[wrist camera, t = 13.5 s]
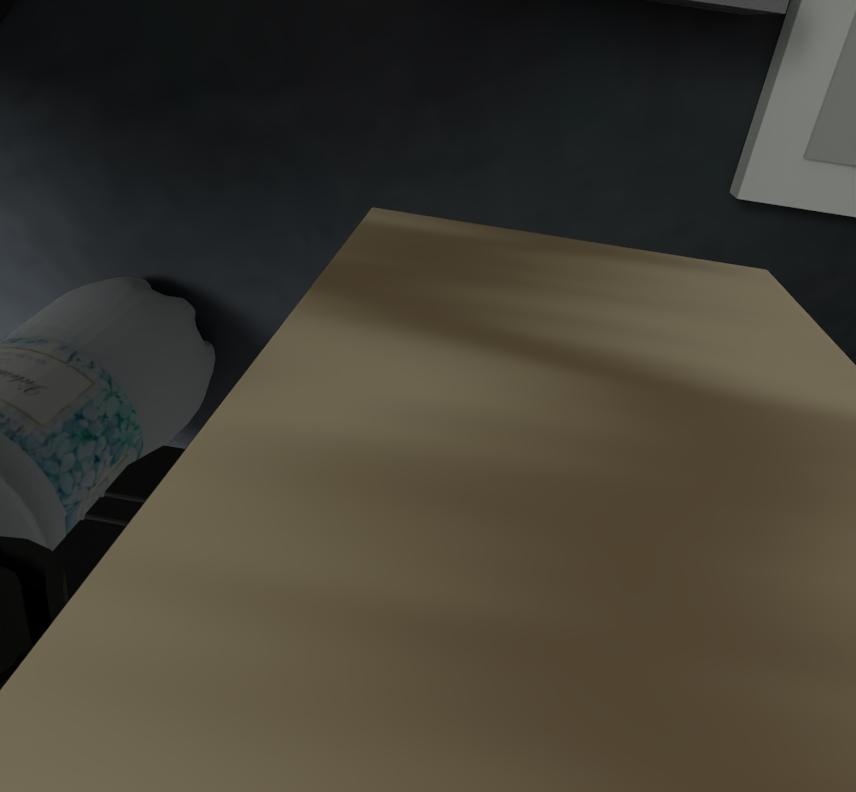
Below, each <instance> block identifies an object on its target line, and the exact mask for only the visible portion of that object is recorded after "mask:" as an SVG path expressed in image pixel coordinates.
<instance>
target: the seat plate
mask: <svg viewBox="0 0 856 792" xmlns="http://www.w3.org/2000/svg"><path fill="white" fill-rule="evenodd" d="M730 193H731V194H732V195H733V196H735V197H736V198H737V199H742V200H749V201H755V202H762V203H768V204H774V205H781V206H787V207H794V208H800V209H807V210H813V211H819V212H826V213H832V214H839V215H845V216H852V217H856V0H791V1H790V4H789V7H788V11H787V14H786V17H785V20H784V23H783V26H782V29H781V32H780V36H779V39H778V42H777V45H776V48H775V51H774V54H773V57H772V61H771V64H770V67H769V70H768V73H767V76H766V79H765V82H764V86H763V89H762V92H761V95H760V98H759V101H758V104H757V107H756V110H755V114H754V117H753V120H752V123H751V126H750V129H749V132H748V135H747V139H746V142H745V145H744V148H743V151H742V154H741V157H740V160H739V164H738V167H737V170H736V173H735V176H734V179H733V182H732V185H731V189H730Z"/></svg>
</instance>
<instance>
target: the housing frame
mask: <svg viewBox="0 0 856 792" xmlns="http://www.w3.org/2000/svg"><path fill="white" fill-rule="evenodd" d="M642 1H649V2H656V3H663V4H670V5H677V6H684V7H691V8H698V9H705V10H712V11H719V12H726V13H734V14H741V15H757V14H785V13H786V10H787V6H788V3H789V0H642Z"/></svg>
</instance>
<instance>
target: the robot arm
mask: <svg viewBox="0 0 856 792" xmlns="http://www.w3.org/2000/svg"><path fill="white" fill-rule="evenodd" d="M12 1H13V0H0V20H1V19H2V17H3V16H4V14H5V13H6V11H7V10H8V8H9V7H10V5H11V3H12ZM185 450H186V449H181V448H176V447H170V446H164V445H163V446H161V447H159V448H157V449H156V450H154V451H152V452H150V453H148V454H147V455H145V456H143V457H141V458H139V459H138V460H136V461H134V462H132V463H130V464H129V465H127V466H126V468H125V469H124V470H123V471H122V472H121V473H120V474H119V476H118V477H117V478H116V479H115V480H114V481H113V482H112V484H111V485H110V486H109V487H108V488H107V489H106V491H105V494H104V497H99V499H98V500H97V501H96V502H95V503H94V504H93V505H92V507H91V508H90V509H89V510H88V511H87V512H86V513H85V518H84V520H79V521H78V523H77V524H76V525H75V526H74V527H73V528H72V530H71V531H70V532H69V533H68V534H67V535H66V536H65V538H64V539H63V540H62V541H61V542H60V543H59V544H58V546H57V547H56V548H55V549H54V550H53V551H52V550H51V549H49V548H46V547H44V546H42V545H40V544H38V543H35V542H33V541H31V540H29V539H24V538H14V537H5V536H0V690H1V689H2V688H3V686H4V685H5V684H6V682H7V681H8V680H9V678H10V677H11V676H12V675H13V673H14V672H15V671H16V669H17V668H18V667H19V666H20V664H21V663H22V662H23V660H24V659H25V658H26V656H27V655H28V654H29V653H30V651H31V650H32V649H33V647H34V646H35V645H36V643H37V642H38V641H39V640H40V638H41V637H42V636H43V634H44V633H45V632H46V630H47V629H48V628H49V627H50V625H51V624H52V623H53V621H54V620H55V619H56V617H57V616H58V615H59V614H60V612H61V611H62V610H63V608H64V607H65V606H66V604H67V603H68V602H69V601H70V599H71V598H72V597H73V595H74V594H75V593H76V591H77V590H78V589H79V588H80V586H81V585H82V584H83V582H84V581H85V580H86V578H87V577H88V576H89V575H90V573H91V572H92V571H93V569H94V568H95V567H96V566H97V564H98V563H99V562H100V560H101V559H102V558H103V556H104V555H105V554H106V553H107V551H108V550H109V549H110V547H111V546H112V545H113V543H114V542H115V541H116V540H117V538H118V537H119V536H120V534H121V533H122V532H123V530H124V529H125V528H126V527H127V525H128V524H129V523H130V521H131V520H132V519H133V517H134V516H135V515H136V514H137V512H138V511H139V510H140V508H141V507H142V506H143V504H144V503H145V502H146V501H147V499H148V498H149V497H150V495H151V494H152V493H153V491H154V490H155V489H156V488H157V486H158V485H159V484H160V482H161V481H162V480H163V479H164V477H165V476H166V475H167V473H168V472H169V471H170V469H171V468H172V467H173V466H174V464H175V463H176V462H177V460H178V459H179V458H180V456H181V455H182V454H183V453H184V451H185Z"/></svg>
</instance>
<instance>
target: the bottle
mask: <svg viewBox="0 0 856 792" xmlns="http://www.w3.org/2000/svg"><path fill="white" fill-rule="evenodd" d="M214 365H215V352H214V347H213V346H212V344H211V343H209V342H208V341H203V339H202V337H201V335H200V333H199V331H198V329H197V327H196V323H195V309H194V308H193V306H192V305H191V304H189V303H188V302H187V301H186V300H185V299H183V298H179V297H171V296H165V295H163V294H161V293H158V292H156V291H154V290H152V289H151V285H150V284H149V283H148V282H147V281H146V280H145V279H141V278H138V277H132V276H121V277H115V278H111V279H107V280H103V281H98V282H94V283H90V284H86V285H84V286H81V287H79V288H77V289H74V290H72V291H70V292H67V293H66V294H64V295H63V296H61V297H59V298H58V299H56V300H55V301H54V302H52V303H51V304H49V305H48V306H46V307H45V308H44V309H42V310H41V311H39V312H38V313H37V314H35V315H34V316H33V317H31V318H30V319H29V320H28V321H26V322H25V323H24V324H22V325H21V326H20V327H18V328H17V329H16V330H15V331H13V332H12V333H11V334H9V335H8V336H7V337H5V338H4V339H3V340H1V341H0V536H5V537H14V538H24V539H29V540H31V541H33V542H35V543H38V544H40V545H42V546H44V547H46V548H49V549H51V550H52V551H53V550H54V549H55V548H56V547H57V546H58V544H59V543H60V542H61V541H62V540H63V539H64V538H65V536H66V535H67V534H68V533H69V532H70V531H71V530H72V528H73V527H74V526H75V525H76V524H77V523H78V521H79V520H84V518H85V513H86V512H87V511H88V510H89V509H90V508H91V507H92V505H93V504H94V503H95V502H96V501H97V500H98V499H99V497H104V494H105V491H106V489H107V488H108V487H109V486H110V485H111V484H112V482H113V481H114V480H115V479H116V478H117V477H118V476H119V474H120V473H121V472H122V471H123V470H124V469H125V468H126V466H127V465H129V464H130V463H132V462H134V461H136V460H138V459H139V458H141V457H143V456H145V455H147V454H148V453H150V452H152V451H154V450H156V449H157V448H159V447H161V446H163V445H164V446H166V445H167V444H168V443H169V442H170V441H171V440H172V439H173V438H174V437H175V436H176V435H177V434H178V433H179V432H180V431H181V430H182V429H183V428H184V427H185V426H186V425H187V424H188V423H189V422H190V420H191V419H192V418H193V416H194V415H195V413H196V412H197V411H198V409H199V408H200V406H201V404H202V402H203V400H204V398H205V394H206V391H207V388H208V385H209V382H210V379H211V376H212V373H213V370H214Z"/></svg>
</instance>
